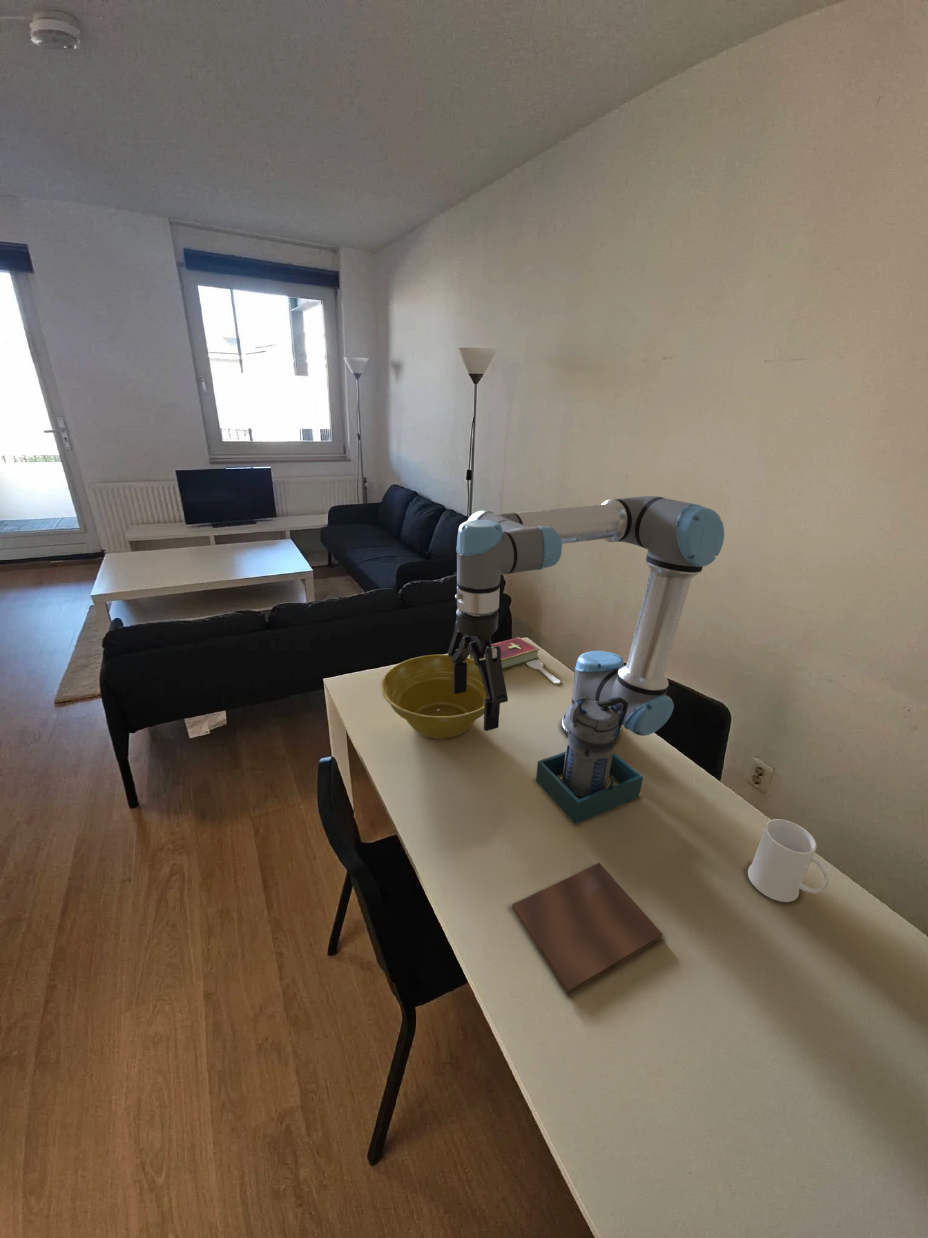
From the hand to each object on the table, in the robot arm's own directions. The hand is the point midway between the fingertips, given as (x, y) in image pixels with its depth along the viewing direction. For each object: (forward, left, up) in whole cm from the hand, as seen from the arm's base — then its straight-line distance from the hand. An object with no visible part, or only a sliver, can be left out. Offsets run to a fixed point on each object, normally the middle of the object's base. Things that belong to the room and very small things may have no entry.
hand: (474, 709), depth 98 cm
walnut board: (-7, +30, -28) cm, 42 cm away
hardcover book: (-45, -59, -28) cm, 79 cm away
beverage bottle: (-29, +4, -28) cm, 40 cm away
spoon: (-52, -46, -28) cm, 75 cm away
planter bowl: (-9, -34, -28) cm, 44 cm away
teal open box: (-29, +4, -28) cm, 40 cm away
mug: (-45, +41, -28) cm, 67 cm away
